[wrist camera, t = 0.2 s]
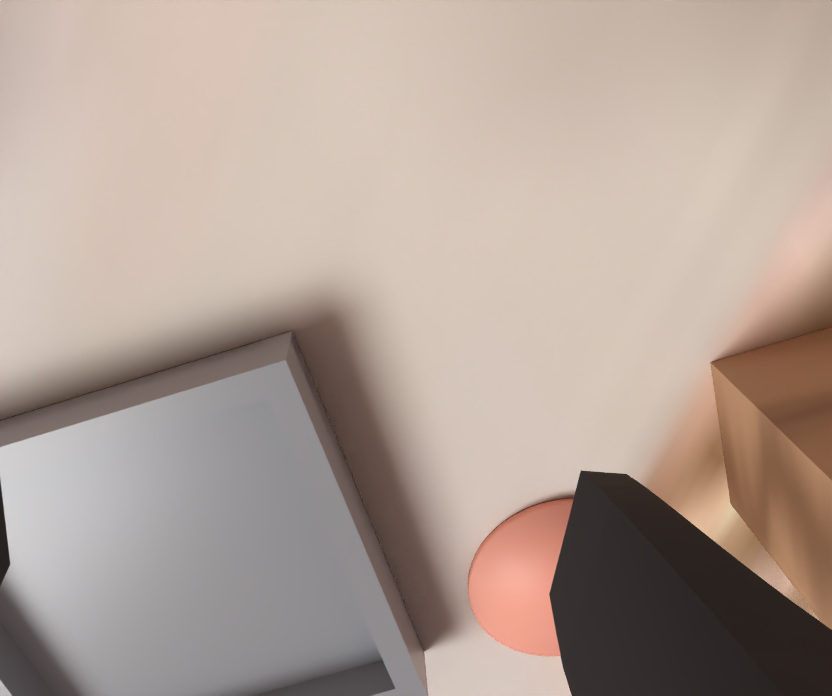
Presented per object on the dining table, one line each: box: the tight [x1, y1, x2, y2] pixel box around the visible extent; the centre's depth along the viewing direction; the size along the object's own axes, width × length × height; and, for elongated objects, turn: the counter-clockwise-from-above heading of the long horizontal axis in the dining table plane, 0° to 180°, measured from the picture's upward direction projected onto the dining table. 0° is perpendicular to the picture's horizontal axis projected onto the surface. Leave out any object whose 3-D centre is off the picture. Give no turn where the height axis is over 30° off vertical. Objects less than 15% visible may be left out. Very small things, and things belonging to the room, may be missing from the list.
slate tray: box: [0, 331, 428, 696], centre depth 21 cm, size 12×12×2 cm
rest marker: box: [468, 499, 574, 656], centre depth 23 cm, size 6×6×1 cm
